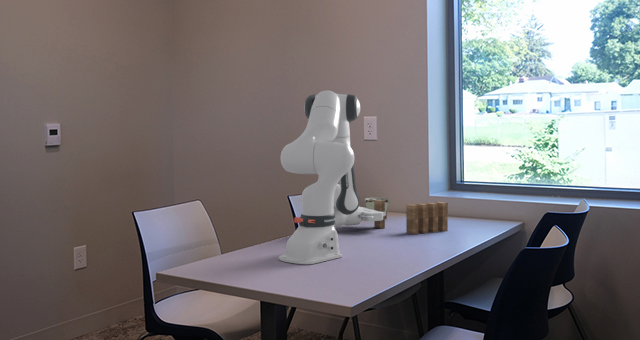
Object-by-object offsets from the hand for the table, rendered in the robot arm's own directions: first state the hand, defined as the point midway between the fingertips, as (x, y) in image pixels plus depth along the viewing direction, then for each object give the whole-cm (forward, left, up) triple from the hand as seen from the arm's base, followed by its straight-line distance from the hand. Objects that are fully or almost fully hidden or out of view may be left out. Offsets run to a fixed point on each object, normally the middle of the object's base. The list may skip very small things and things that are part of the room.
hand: (381, 212), depth 235 cm
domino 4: (+3, -23, -7) cm, 24 cm away
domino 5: (+8, -25, -7) cm, 27 cm away
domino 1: (-1, 0, -7) cm, 7 cm away
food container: (+22, +15, -7) cm, 28 cm away
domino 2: (-5, -18, -7) cm, 20 cm away
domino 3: (-1, -20, -7) cm, 21 cm away
